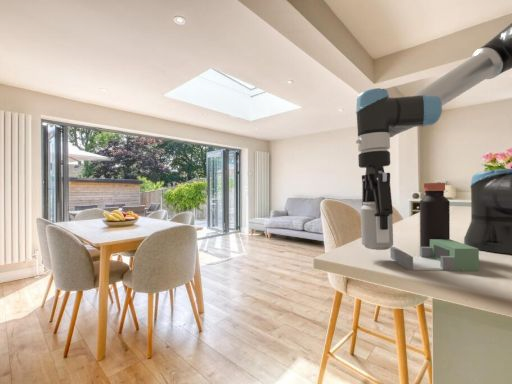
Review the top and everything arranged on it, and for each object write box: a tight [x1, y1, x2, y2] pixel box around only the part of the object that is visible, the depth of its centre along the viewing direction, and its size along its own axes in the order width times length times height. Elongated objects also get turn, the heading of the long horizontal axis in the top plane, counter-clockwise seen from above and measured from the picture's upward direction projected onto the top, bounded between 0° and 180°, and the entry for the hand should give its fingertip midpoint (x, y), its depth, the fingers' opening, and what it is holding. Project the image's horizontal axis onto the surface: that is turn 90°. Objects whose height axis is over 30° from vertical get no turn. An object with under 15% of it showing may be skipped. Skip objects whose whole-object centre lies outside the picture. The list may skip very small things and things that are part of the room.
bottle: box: [419, 182, 451, 248], centre depth 72 cm, size 7×7×20 cm
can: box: [360, 202, 394, 251], centre depth 67 cm, size 8×8×12 cm
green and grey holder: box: [389, 239, 480, 272], centre depth 63 cm, size 15×10×5 cm, turn 84°
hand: (376, 238), depth 67 cm, fingers closed on can, 7 cm apart
